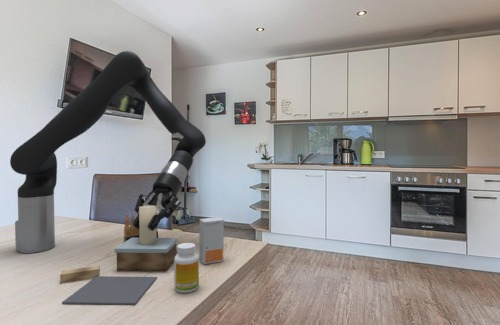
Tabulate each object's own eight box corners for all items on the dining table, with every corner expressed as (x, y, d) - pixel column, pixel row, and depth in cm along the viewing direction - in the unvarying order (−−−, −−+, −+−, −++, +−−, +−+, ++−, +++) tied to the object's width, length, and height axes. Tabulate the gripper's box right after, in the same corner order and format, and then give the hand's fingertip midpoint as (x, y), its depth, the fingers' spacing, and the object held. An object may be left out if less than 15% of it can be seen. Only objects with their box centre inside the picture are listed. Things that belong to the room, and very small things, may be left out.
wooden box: (116, 271, 72) (116, 252, 71) (132, 258, 81) (132, 241, 80) (166, 271, 71) (166, 252, 71) (176, 258, 80) (176, 241, 80)
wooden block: (60, 284, 65) (60, 274, 65) (62, 280, 67) (62, 270, 67) (98, 278, 68) (98, 269, 68) (99, 274, 70) (99, 265, 70)
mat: (61, 304, 56) (61, 302, 56) (96, 277, 68) (96, 276, 68) (135, 305, 55) (135, 303, 55) (156, 278, 67) (156, 276, 67)
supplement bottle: (202, 289, 62) (202, 246, 62) (179, 296, 59) (178, 251, 59) (193, 280, 66) (193, 240, 66) (171, 286, 63) (171, 244, 63)
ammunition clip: (125, 254, 84) (124, 215, 84) (123, 252, 85) (122, 214, 85) (158, 246, 91) (158, 210, 91) (156, 245, 92) (156, 209, 92)
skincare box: (203, 265, 75) (203, 221, 75) (199, 260, 79) (198, 218, 79) (224, 261, 78) (224, 219, 78) (218, 256, 82) (218, 216, 81)
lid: (114, 252, 71) (114, 210, 71) (131, 240, 81) (131, 203, 80) (167, 252, 71) (166, 210, 71) (177, 241, 80) (177, 203, 80)
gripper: (146, 171, 85) (114, 218, 74) (185, 171, 80) (157, 223, 69) (158, 186, 90) (130, 232, 79) (195, 188, 85) (171, 238, 74)
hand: (143, 228), depth 74 cm, fingers closed on lid, 4 cm apart
